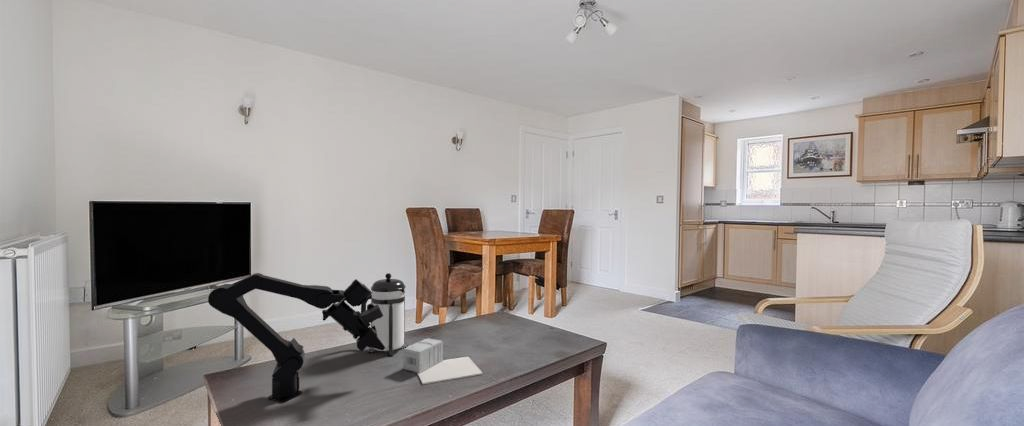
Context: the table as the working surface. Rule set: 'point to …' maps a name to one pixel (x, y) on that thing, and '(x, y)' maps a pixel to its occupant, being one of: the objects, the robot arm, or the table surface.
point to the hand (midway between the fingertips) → (384, 348)
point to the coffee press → (389, 312)
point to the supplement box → (423, 355)
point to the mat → (449, 370)
